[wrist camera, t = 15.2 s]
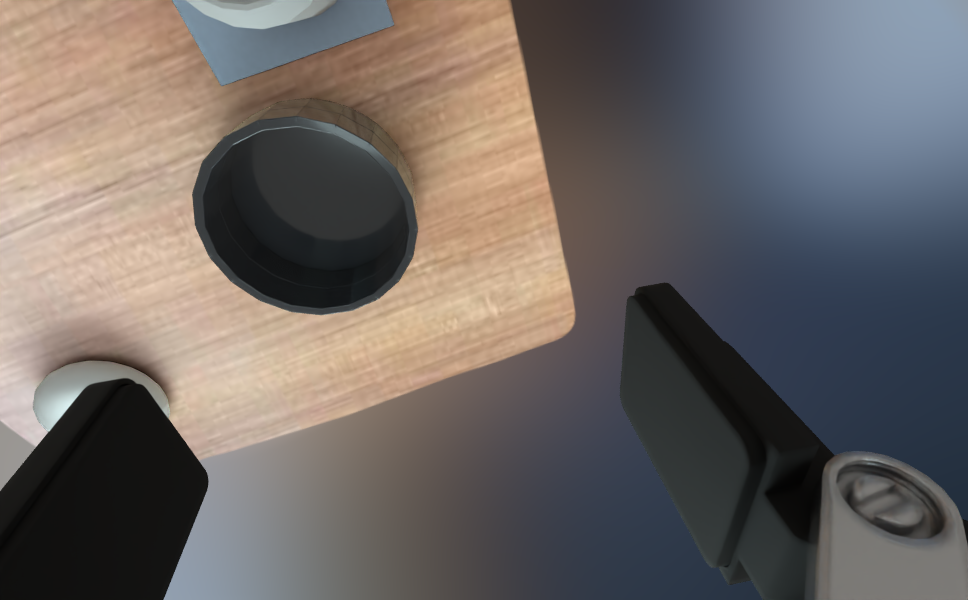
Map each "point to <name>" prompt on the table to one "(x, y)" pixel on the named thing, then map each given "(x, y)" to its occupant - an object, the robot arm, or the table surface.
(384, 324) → the table surface
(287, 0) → the can
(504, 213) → the table surface
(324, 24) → the cloth
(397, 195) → the pot
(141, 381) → the donut
